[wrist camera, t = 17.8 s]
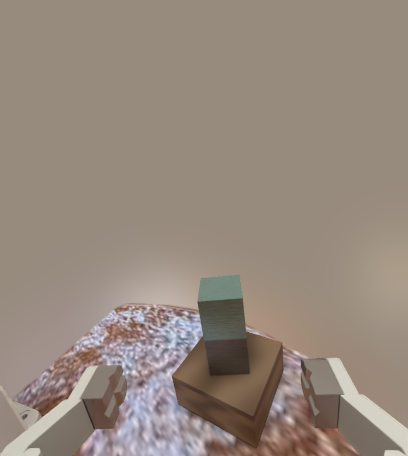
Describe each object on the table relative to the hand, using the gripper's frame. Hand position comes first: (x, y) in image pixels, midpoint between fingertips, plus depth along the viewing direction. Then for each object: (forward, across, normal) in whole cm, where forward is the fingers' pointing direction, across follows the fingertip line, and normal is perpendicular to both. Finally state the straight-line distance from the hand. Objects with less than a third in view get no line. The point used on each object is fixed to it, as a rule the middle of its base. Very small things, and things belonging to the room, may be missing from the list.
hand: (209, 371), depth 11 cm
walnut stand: (+17, 0, +23) cm, 28 cm away
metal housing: (+17, 0, +18) cm, 25 cm away
